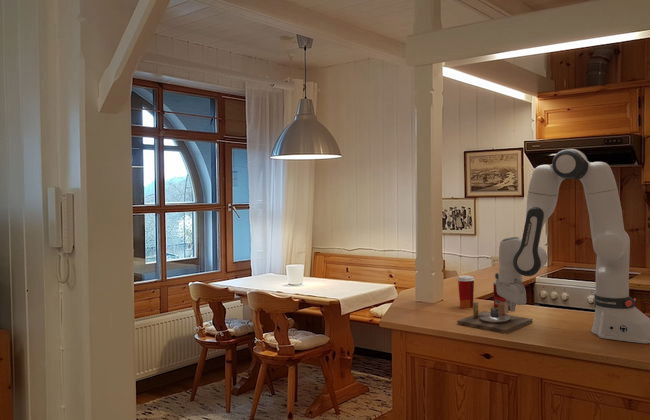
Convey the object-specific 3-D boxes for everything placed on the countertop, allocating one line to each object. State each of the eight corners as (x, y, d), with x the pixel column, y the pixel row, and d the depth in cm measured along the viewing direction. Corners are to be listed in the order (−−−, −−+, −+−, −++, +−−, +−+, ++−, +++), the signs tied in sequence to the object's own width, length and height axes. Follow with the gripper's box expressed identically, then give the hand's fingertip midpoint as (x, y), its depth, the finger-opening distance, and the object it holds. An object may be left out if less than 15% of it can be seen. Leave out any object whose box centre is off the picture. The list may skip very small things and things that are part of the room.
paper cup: (469, 304, 268) (468, 274, 267) (478, 308, 260) (477, 277, 259) (454, 306, 265) (453, 276, 264) (463, 310, 258) (462, 279, 257)
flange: (500, 324, 226) (499, 311, 225) (473, 319, 235) (473, 307, 234) (519, 316, 236) (519, 304, 236) (493, 312, 245) (493, 300, 244)
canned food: (513, 308, 257) (512, 284, 256) (494, 308, 258) (494, 284, 258) (511, 304, 264) (510, 280, 264) (493, 304, 266) (492, 280, 265)
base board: (532, 322, 233) (532, 303, 232) (506, 333, 220) (505, 313, 219) (484, 314, 249) (483, 295, 249) (457, 324, 236) (456, 304, 235)
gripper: (530, 281, 224) (530, 316, 225) (507, 272, 244) (507, 304, 245) (514, 282, 223) (515, 317, 224) (493, 273, 243) (493, 305, 244)
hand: (511, 310), depth 235 cm, fingers closed
